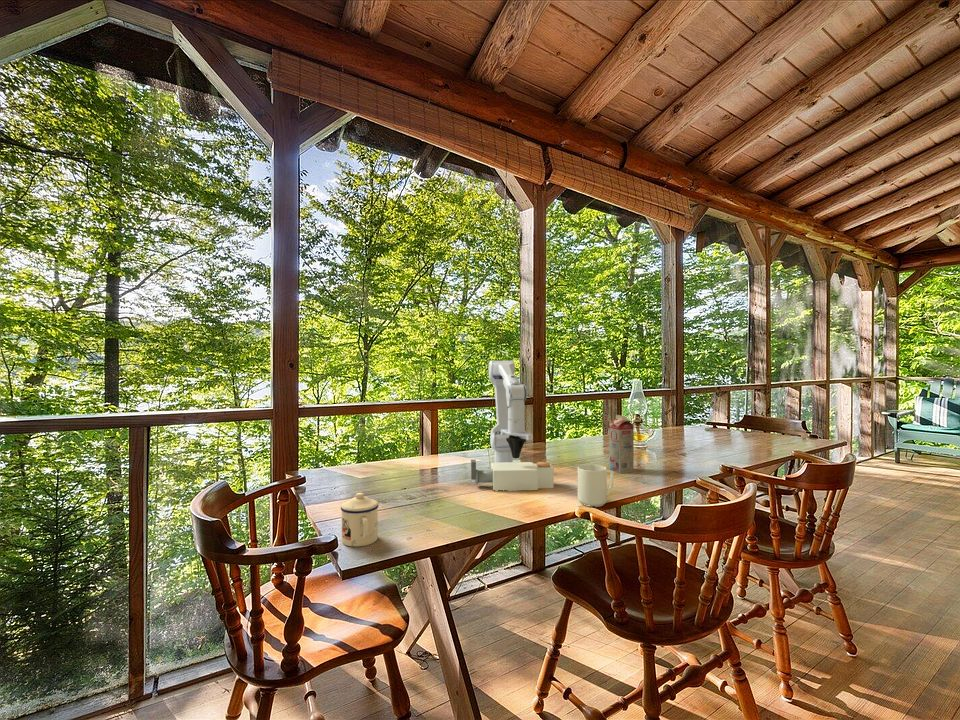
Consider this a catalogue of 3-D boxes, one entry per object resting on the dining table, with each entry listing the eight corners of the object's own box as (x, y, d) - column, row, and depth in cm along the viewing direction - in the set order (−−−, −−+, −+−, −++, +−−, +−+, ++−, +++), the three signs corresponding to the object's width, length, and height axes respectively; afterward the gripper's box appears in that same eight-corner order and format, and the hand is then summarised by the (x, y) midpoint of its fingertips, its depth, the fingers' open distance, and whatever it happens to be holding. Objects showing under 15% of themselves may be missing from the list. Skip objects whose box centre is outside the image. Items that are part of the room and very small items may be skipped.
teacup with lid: (337, 537, 120) (337, 491, 120) (373, 531, 124) (373, 486, 124) (346, 555, 110) (346, 504, 109) (385, 548, 113) (385, 499, 113)
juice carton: (619, 473, 185) (619, 416, 185) (609, 469, 191) (609, 414, 191) (633, 471, 187) (633, 416, 187) (623, 468, 194) (623, 414, 193)
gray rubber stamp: (470, 481, 169) (470, 459, 169) (505, 481, 169) (505, 459, 169) (471, 485, 164) (471, 462, 164) (506, 484, 165) (506, 462, 164)
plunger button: (535, 472, 170) (535, 462, 170) (548, 471, 170) (548, 461, 170) (537, 475, 165) (537, 465, 165) (551, 475, 165) (551, 464, 165)
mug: (587, 509, 142) (587, 472, 142) (572, 500, 151) (572, 465, 150) (621, 505, 146) (621, 468, 146) (604, 496, 154) (604, 462, 154)
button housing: (490, 481, 173) (490, 462, 173) (548, 481, 174) (548, 461, 174) (493, 491, 161) (493, 470, 161) (555, 490, 162) (555, 469, 162)
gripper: (538, 420, 164) (538, 460, 164) (510, 416, 175) (510, 453, 175) (523, 422, 159) (523, 462, 159) (496, 417, 171) (496, 455, 171)
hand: (516, 457), depth 167 cm, fingers closed
